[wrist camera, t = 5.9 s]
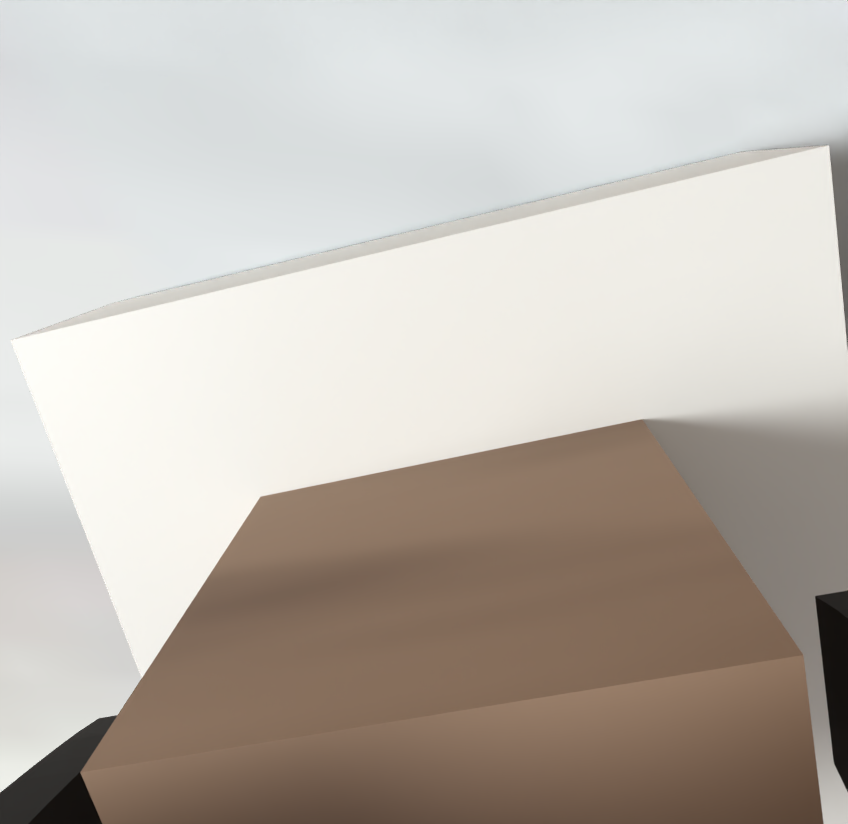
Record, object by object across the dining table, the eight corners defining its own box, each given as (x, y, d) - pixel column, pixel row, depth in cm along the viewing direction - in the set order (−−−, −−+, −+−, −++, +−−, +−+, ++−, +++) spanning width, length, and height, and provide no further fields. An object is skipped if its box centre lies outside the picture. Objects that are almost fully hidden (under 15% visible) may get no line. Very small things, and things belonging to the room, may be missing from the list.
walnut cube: (697, 749, 11) (866, 1183, 6) (357, 801, 12) (277, 1232, 7) (642, 418, 10) (803, 654, 5) (260, 496, 10) (80, 771, 6)
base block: (809, 716, 14) (893, 852, 11) (285, 796, 16) (242, 938, 13) (741, 152, 12) (829, 145, 9) (113, 302, 13) (10, 339, 10)
